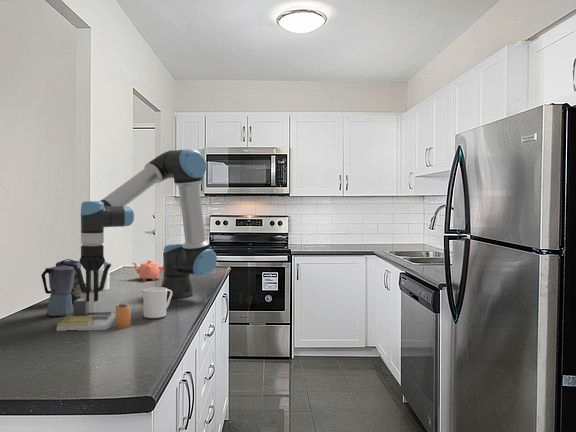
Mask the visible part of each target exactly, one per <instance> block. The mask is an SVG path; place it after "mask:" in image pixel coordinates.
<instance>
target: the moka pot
mask: <svg viewBox="0 0 576 432" xmlns="http://www.w3.org/2000/svg"><path fill="white" fill-rule="evenodd" d="M59 262H61V265H60V266H56V265H55V266H52V267H51V266H50V267H45V269H44V271H43V272H42V273H41V281H42V284H43V288H44V289H43V290H44V292H45V294H47V295H48V294H50V296H49V300H48V306H47V310H46V315H48V316H51V317H64V316H68V315H69V314H70V313H73V303H72V298H71V290H72V288H73V284H74V278H75V272H76V271H75V269H74V268H73V267H70V266H65V265H64V263H65V261H63V260H61V261H59ZM46 274H48V284H49V289H50V290H49V289H48V285H47V279H46Z"/></svg>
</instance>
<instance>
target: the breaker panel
mask: <svg viewBox="0 0 576 432" xmlns="http://www.w3.org/2000/svg"><path fill="white" fill-rule="evenodd" d="M114 320H116V312H114V313H113V312H111V311H97V312H96V311H88V315H77V316H73V313H70V314H69V315H66V316H62V317H61V319H60V320H59V321H57V325H56V332H67V331H66V330H78V331H107V330H109V328H110V327H111V326H112V324H113V322H114Z"/></svg>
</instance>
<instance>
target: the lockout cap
mask: <svg viewBox="0 0 576 432" xmlns="http://www.w3.org/2000/svg"><path fill="white" fill-rule="evenodd" d="M131 309H132V307H131V305H130V304H128V303H120V304H118V305H116V306H115V313H116V318H115V328H116V327H117V329H128V328H130V327H131V326H132V325H131V313H132V312H131ZM127 327H128V328H127Z"/></svg>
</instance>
